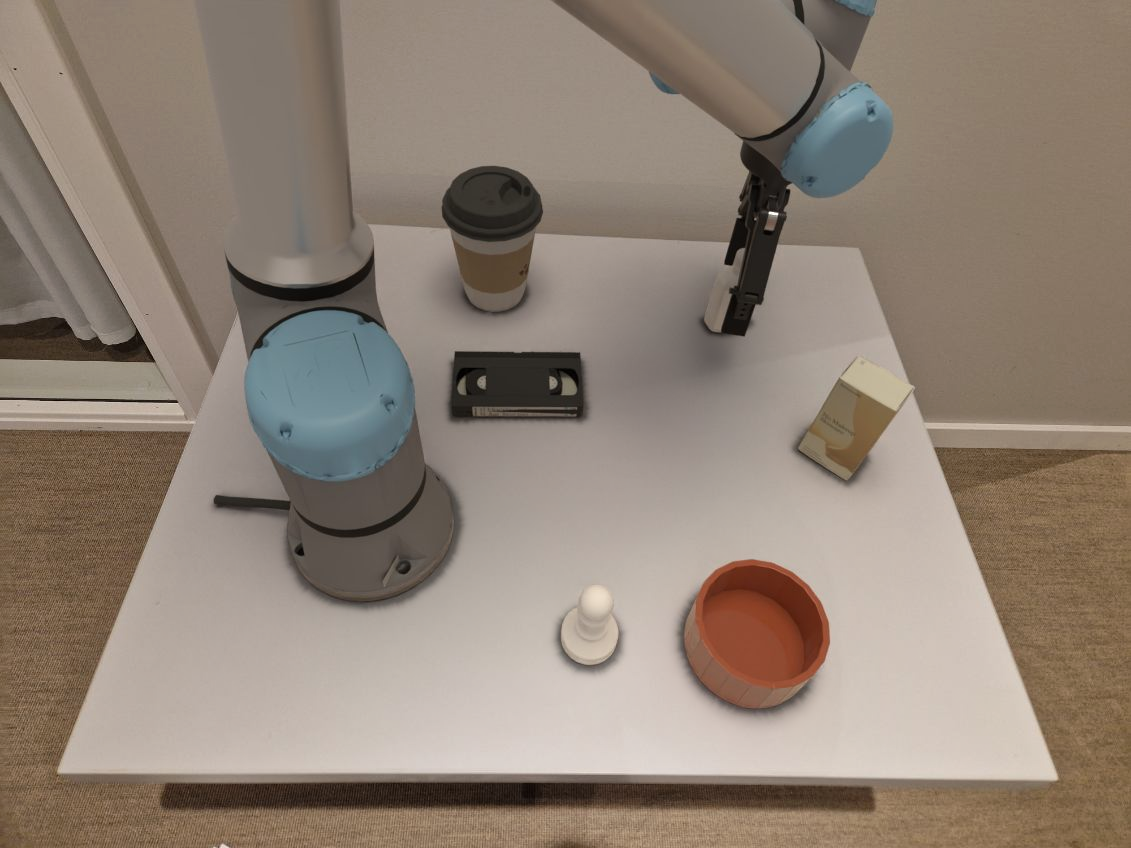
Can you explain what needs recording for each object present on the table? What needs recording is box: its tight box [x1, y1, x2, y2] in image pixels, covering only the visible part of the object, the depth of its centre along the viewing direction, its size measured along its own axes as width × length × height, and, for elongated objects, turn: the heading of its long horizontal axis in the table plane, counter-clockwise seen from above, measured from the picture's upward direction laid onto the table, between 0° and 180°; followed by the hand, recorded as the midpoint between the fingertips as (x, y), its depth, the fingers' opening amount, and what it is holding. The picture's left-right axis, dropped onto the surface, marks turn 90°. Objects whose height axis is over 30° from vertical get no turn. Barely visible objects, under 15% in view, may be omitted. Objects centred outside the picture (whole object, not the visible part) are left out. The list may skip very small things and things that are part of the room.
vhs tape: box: [450, 350, 585, 418], centre depth 81 cm, size 14×8×2 cm, turn 92°
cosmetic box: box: [797, 354, 916, 482], centre depth 74 cm, size 6×4×12 cm
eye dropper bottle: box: [703, 248, 745, 333], centre depth 85 cm, size 4×6×12 cm
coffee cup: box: [441, 165, 544, 313], centre depth 85 cm, size 11×11×15 cm
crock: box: [683, 558, 831, 710], centre depth 63 cm, size 11×11×6 cm
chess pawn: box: [560, 584, 619, 666], centre depth 61 cm, size 5×5×9 cm
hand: (733, 297), depth 87 cm, fingers open, 11 cm apart
